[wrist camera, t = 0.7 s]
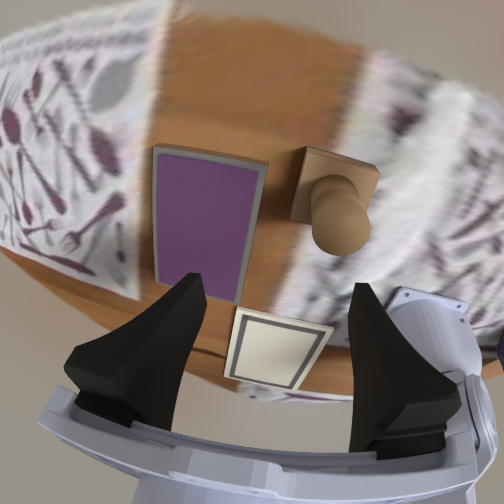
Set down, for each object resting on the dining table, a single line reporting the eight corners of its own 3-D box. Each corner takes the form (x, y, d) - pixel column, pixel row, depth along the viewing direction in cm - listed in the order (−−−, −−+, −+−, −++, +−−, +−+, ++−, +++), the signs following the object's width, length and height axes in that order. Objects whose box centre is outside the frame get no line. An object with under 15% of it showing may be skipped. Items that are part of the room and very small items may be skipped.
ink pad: (268, 162, 20) (267, 167, 19) (241, 297, 28) (238, 307, 26) (159, 143, 20) (151, 147, 19) (159, 276, 28) (154, 284, 27)
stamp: (374, 165, 18) (400, 202, 13) (353, 223, 21) (366, 276, 16) (306, 145, 19) (308, 175, 13) (290, 208, 22) (285, 257, 16)
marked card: (333, 326, 28) (334, 330, 28) (295, 388, 36) (295, 391, 36) (237, 306, 28) (236, 309, 28) (224, 374, 37) (223, 377, 36)
